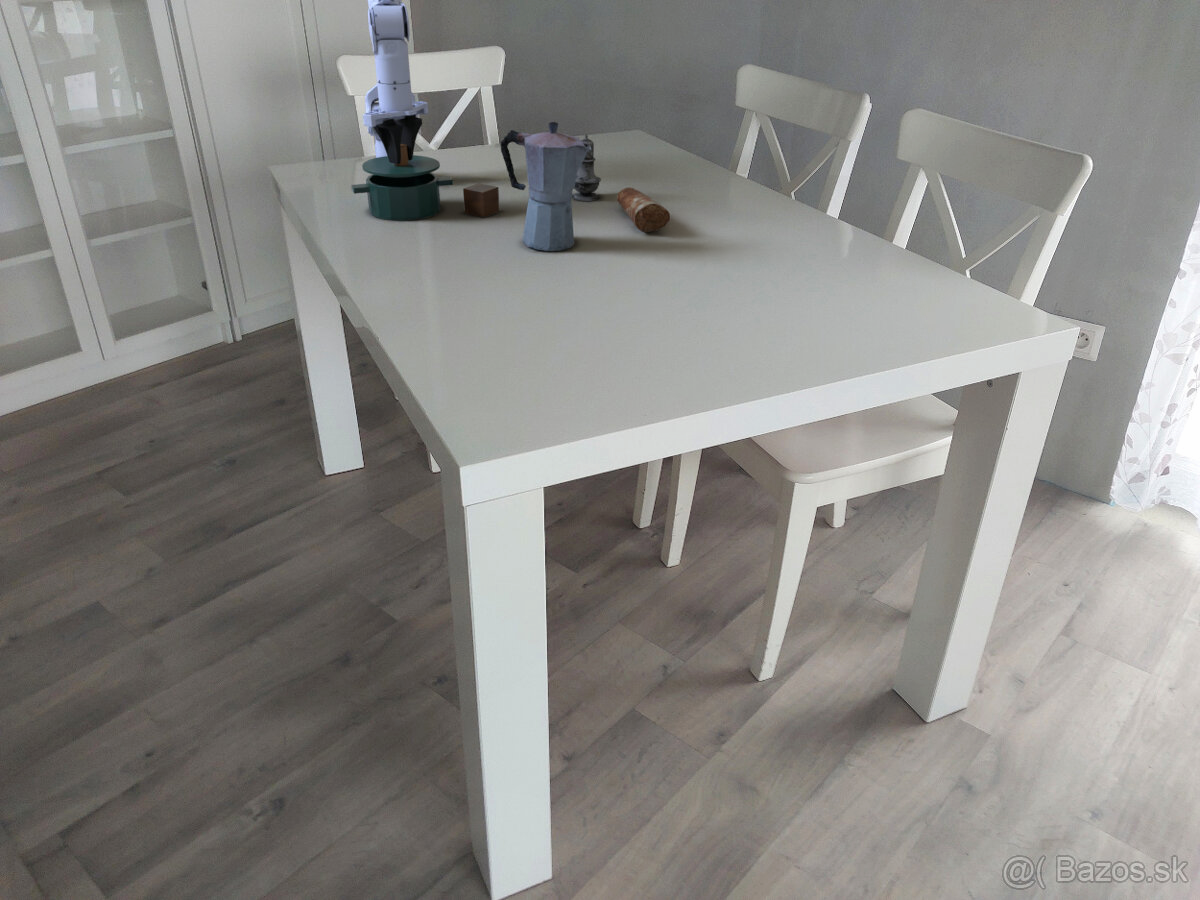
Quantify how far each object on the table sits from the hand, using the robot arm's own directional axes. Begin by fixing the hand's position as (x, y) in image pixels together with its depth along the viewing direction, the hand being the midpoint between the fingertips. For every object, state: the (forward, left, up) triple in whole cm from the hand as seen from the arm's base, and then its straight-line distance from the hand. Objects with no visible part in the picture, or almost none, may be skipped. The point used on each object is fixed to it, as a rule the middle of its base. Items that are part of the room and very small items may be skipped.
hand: (400, 161), depth 169 cm
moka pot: (+27, +18, -9) cm, 34 cm away
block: (+6, +13, -9) cm, 17 cm away
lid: (0, 0, -1) cm, 1 cm away
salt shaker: (+3, +35, -9) cm, 36 cm away
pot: (0, 0, -9) cm, 9 cm away
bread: (+20, +38, -9) cm, 44 cm away
